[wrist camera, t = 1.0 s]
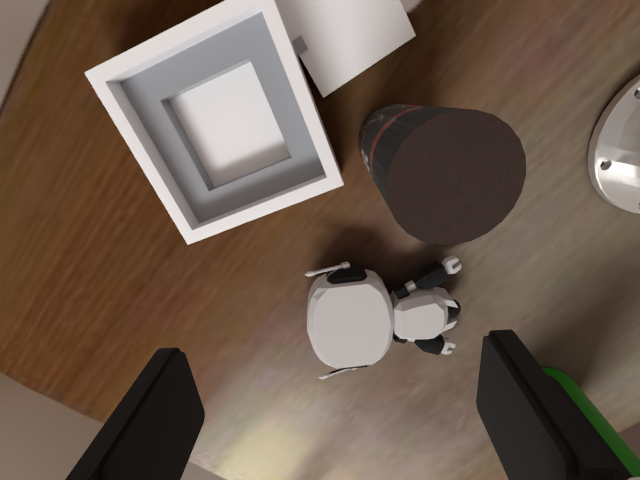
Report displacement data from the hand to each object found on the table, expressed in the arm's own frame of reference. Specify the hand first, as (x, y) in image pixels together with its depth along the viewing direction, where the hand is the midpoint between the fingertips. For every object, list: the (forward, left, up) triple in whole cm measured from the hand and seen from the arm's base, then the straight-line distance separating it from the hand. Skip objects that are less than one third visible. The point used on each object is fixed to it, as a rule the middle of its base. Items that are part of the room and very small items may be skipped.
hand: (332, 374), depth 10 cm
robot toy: (-1, +13, -22) cm, 25 cm away
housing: (+5, -8, -21) cm, 24 cm away
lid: (-6, -12, -21) cm, 25 cm away
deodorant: (-7, -2, -22) cm, 23 cm away
